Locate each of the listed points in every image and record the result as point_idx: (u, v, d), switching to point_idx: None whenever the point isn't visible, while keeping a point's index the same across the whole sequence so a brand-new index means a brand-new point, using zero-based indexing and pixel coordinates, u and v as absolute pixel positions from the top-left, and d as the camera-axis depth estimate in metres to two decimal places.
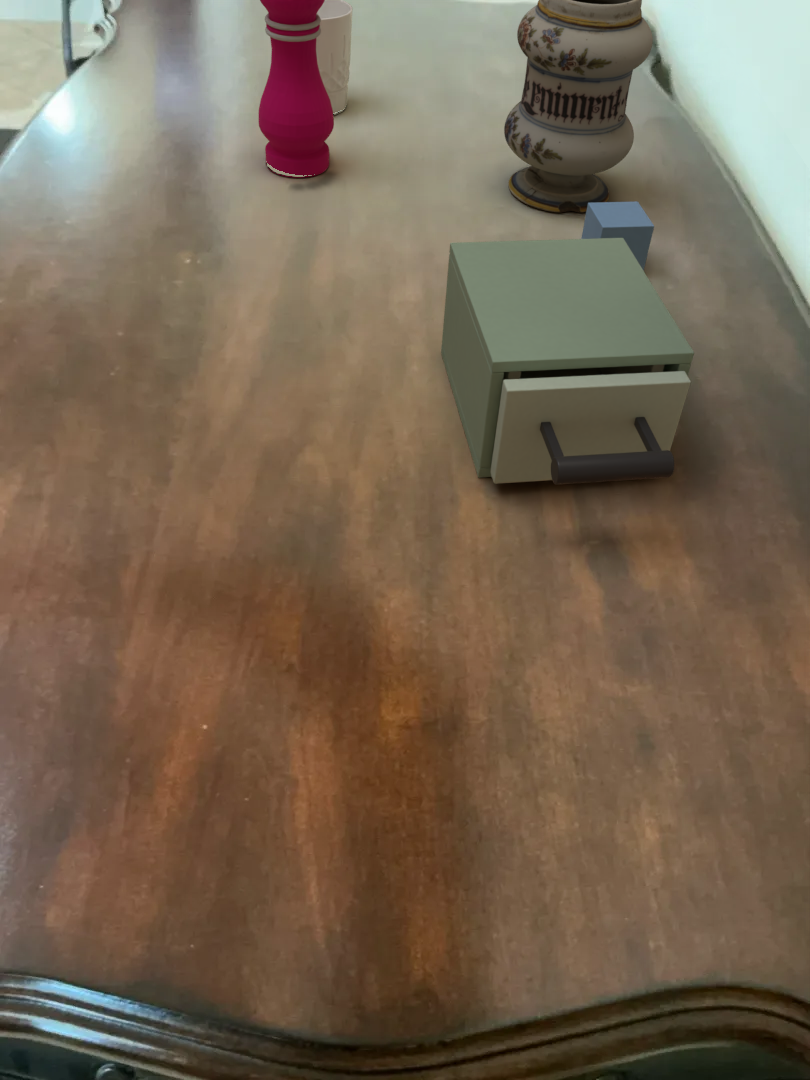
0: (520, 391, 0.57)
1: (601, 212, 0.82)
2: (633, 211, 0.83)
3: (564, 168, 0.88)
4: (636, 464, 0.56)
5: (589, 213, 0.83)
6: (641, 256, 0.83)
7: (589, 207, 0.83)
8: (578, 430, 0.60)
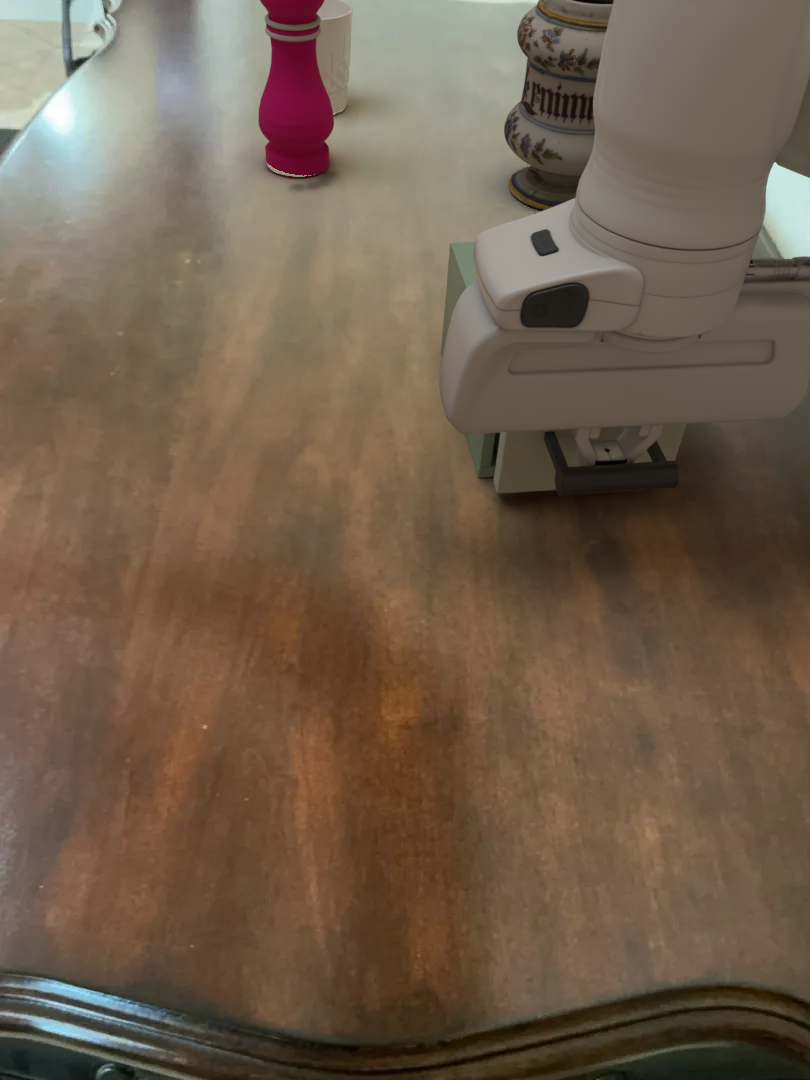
0: None
1: None
2: None
3: (564, 168, 0.88)
4: (641, 475, 0.55)
5: None
6: None
7: None
8: None
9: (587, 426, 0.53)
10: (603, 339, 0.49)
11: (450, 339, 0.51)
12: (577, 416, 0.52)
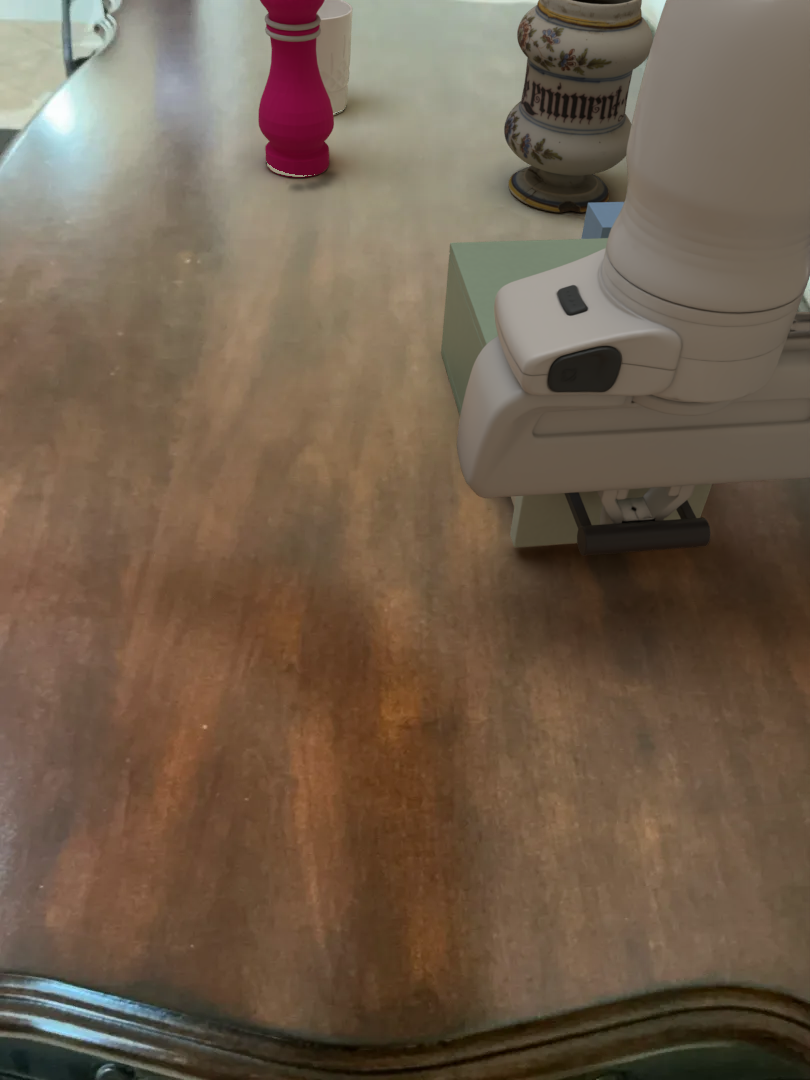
0: None
1: (601, 212, 0.82)
2: None
3: (564, 168, 0.88)
4: (670, 534, 0.52)
5: (589, 213, 0.83)
6: None
7: (589, 207, 0.83)
8: None
9: (614, 488, 0.50)
10: (634, 400, 0.46)
11: (469, 398, 0.48)
12: (604, 478, 0.49)
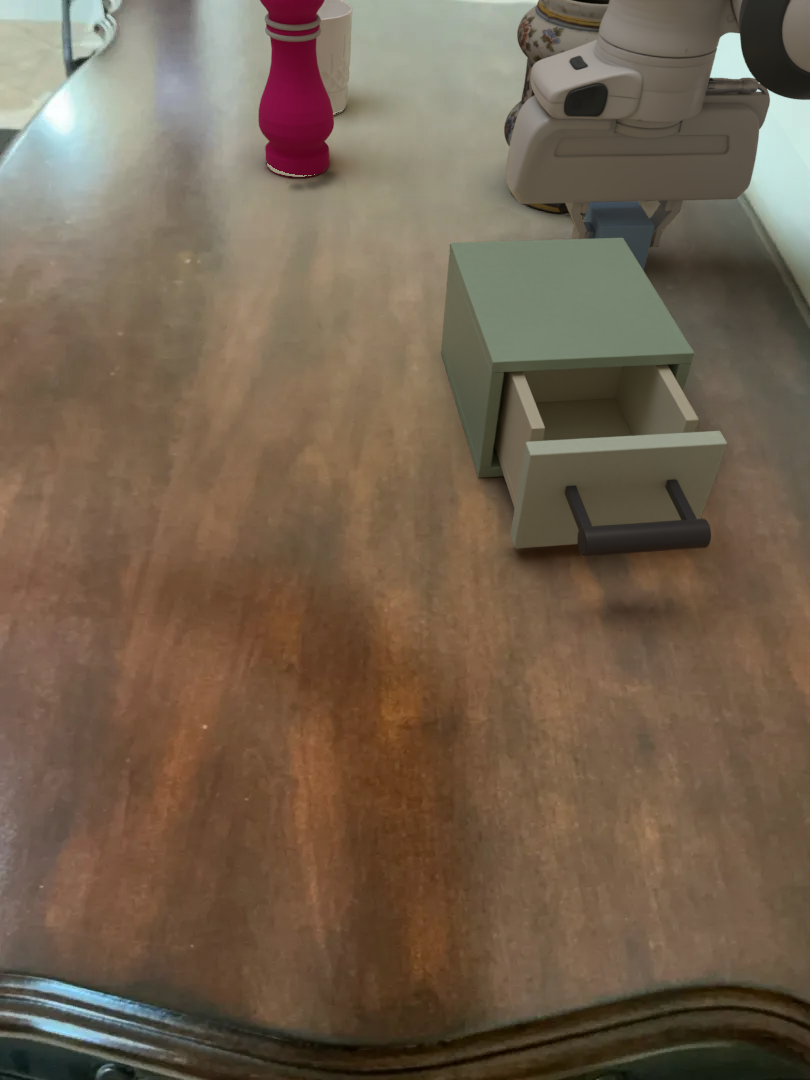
0: (544, 455, 0.53)
1: (601, 212, 0.82)
2: (633, 211, 0.83)
3: None
4: (670, 535, 0.52)
5: (589, 213, 0.83)
6: (641, 256, 0.83)
7: (589, 207, 0.83)
8: (605, 493, 0.56)
9: (605, 199, 0.79)
10: (616, 131, 0.75)
11: (514, 137, 0.77)
12: (598, 191, 0.78)
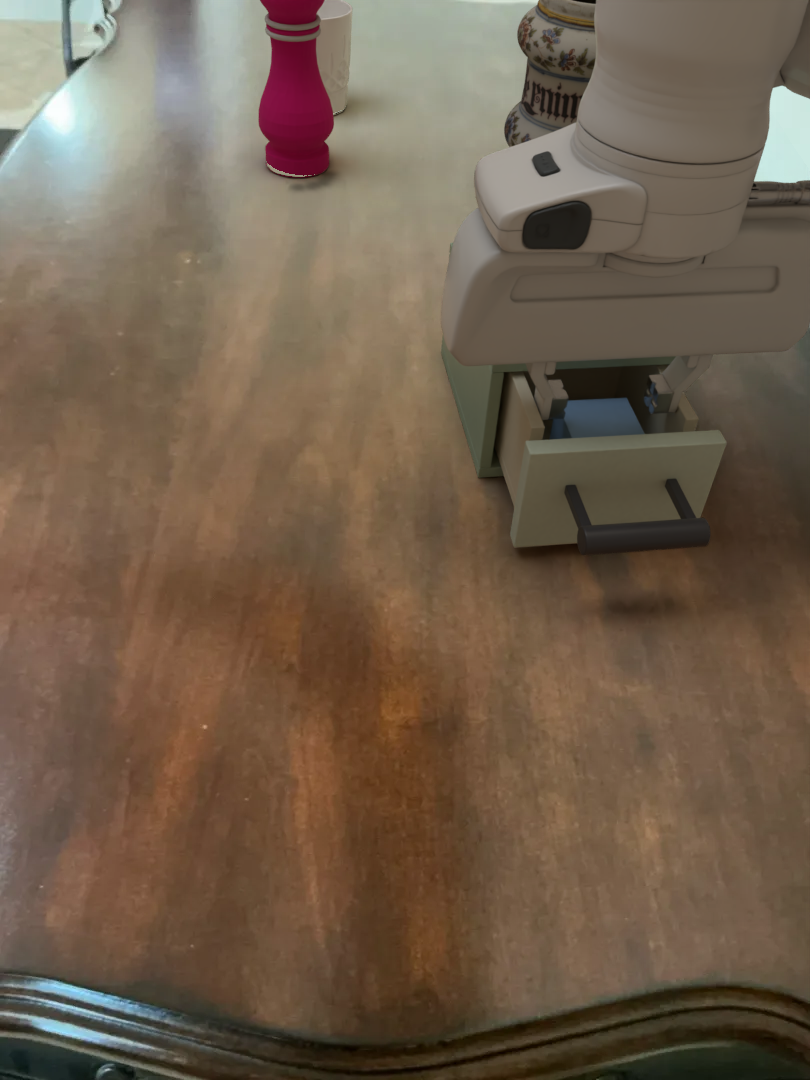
0: (544, 454, 0.53)
1: (574, 418, 0.58)
2: (620, 416, 0.59)
3: None
4: (670, 534, 0.52)
5: None
6: None
7: None
8: (604, 493, 0.56)
9: (590, 358, 0.52)
10: (606, 264, 0.48)
11: (451, 269, 0.51)
12: (580, 347, 0.52)
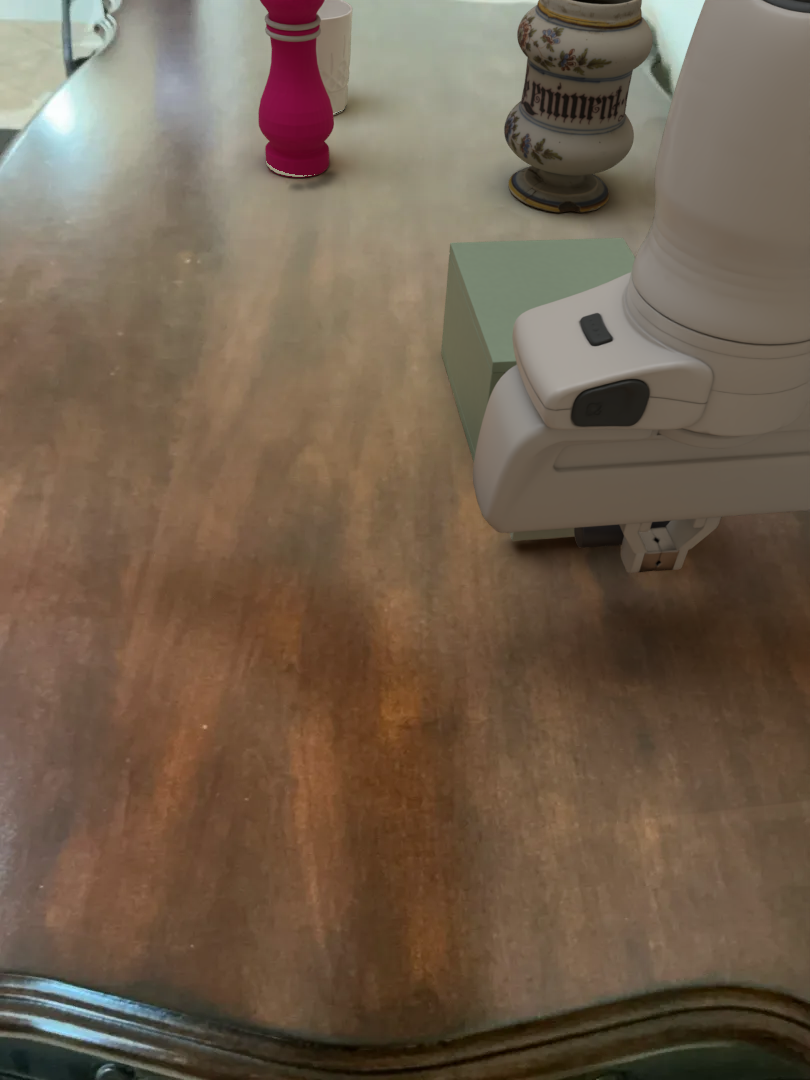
0: None
1: None
2: None
3: (564, 168, 0.88)
4: None
5: None
6: None
7: None
8: None
9: (638, 521, 0.48)
10: (660, 432, 0.44)
11: (486, 430, 0.46)
12: (628, 512, 0.47)
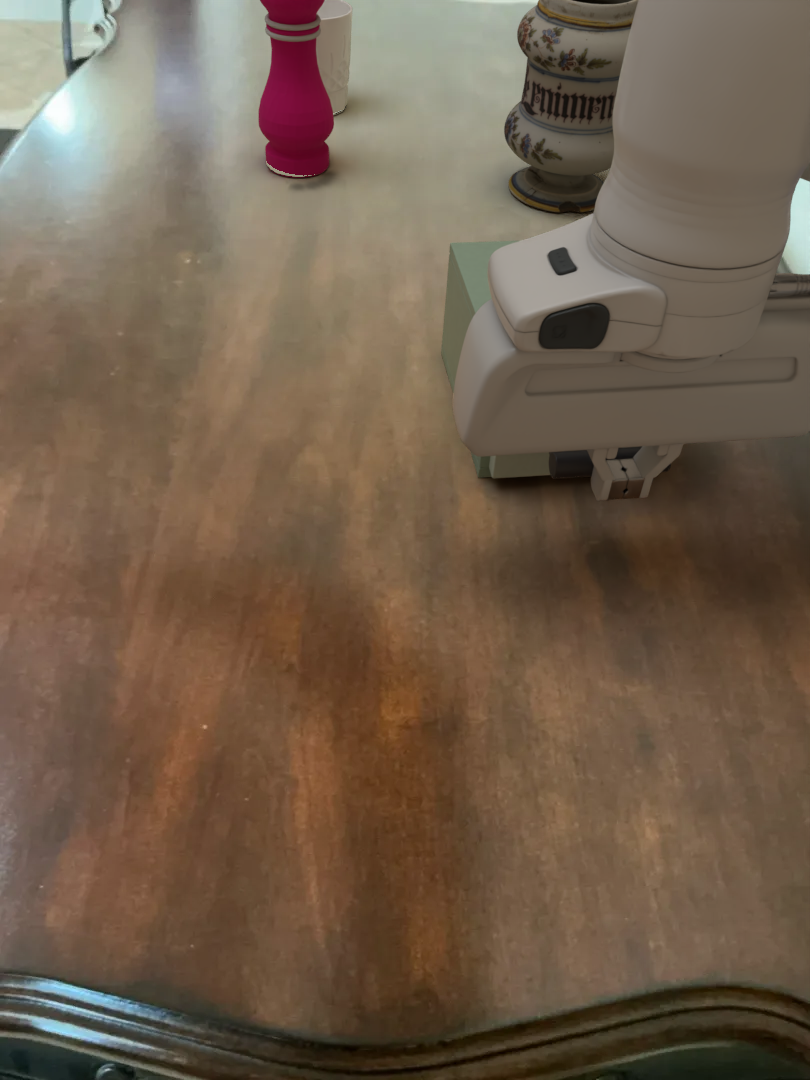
0: None
1: None
2: None
3: (564, 168, 0.88)
4: None
5: None
6: None
7: None
8: None
9: (605, 446, 0.52)
10: (622, 359, 0.48)
11: (464, 360, 0.50)
12: (595, 437, 0.51)
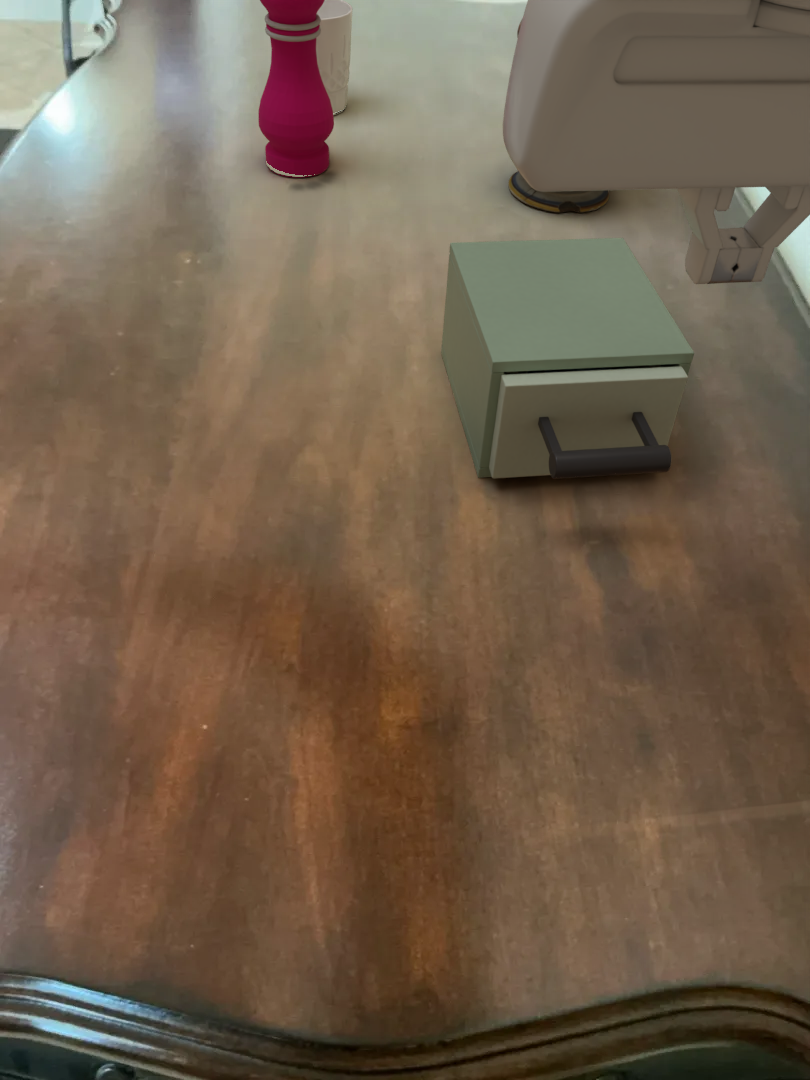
0: (518, 386, 0.58)
1: None
2: None
3: None
4: (633, 458, 0.56)
5: None
6: None
7: None
8: (576, 425, 0.60)
9: (717, 183, 0.37)
10: (757, 23, 0.33)
11: (523, 43, 0.35)
12: (705, 164, 0.36)
